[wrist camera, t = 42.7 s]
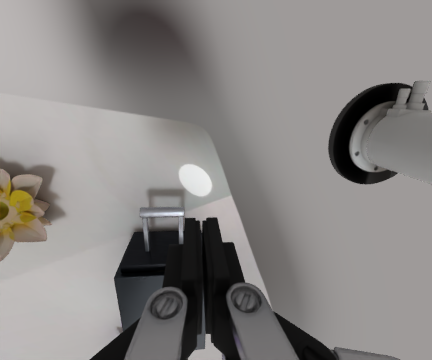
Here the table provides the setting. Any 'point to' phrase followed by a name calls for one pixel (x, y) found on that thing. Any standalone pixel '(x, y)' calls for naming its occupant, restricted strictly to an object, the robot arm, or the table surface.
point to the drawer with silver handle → (152, 242)
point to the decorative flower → (20, 211)
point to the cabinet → (142, 297)
